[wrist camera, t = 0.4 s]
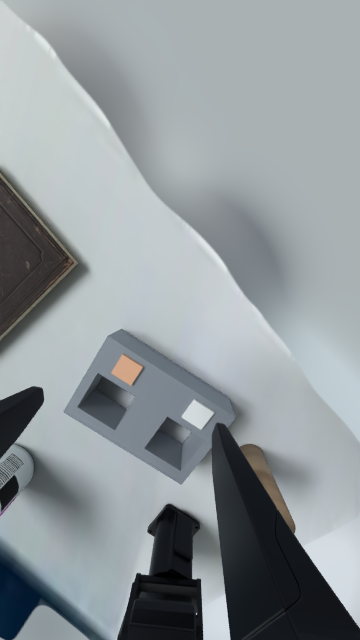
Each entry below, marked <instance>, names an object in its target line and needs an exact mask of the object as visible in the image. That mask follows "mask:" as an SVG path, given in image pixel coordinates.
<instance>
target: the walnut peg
mask: <svg viewBox="0 0 360 640" xmlns="http://www.w3.org/2000/svg"><path fill="white" fill-rule="evenodd" d="M240 449H241V451H242V452H243V454H244V455H245V457H246V459H247V460H248V462H249V463H250V465H251V467H252V468H253V470H254V471H255V473H256V475H257V476H258V478H259V480H260V481H261V483H262V484H263V486H264V488H265V489H266V491H267V492H268V494H269V496H270V497H271V499H272V500H273V502H274V504H275V505H276V507H277V509H278V510H279V511H280V513H281V515H282V516H283V518H284V519H285V521H286V523H287V524H288V526H289V527H290V529H291V530H292V532H293V534H294V533H295V524H294V521H293V519H292V517H291V515H290V512H289V510H288V508H287V506H286V503H285V501H284V499H283V497H282V495H281V492H280V490H279V488H278V486H277V484H276V481H275V479H274V477H273V475H272V472H271V470H270V468H269V466H268V464H267V461H266V459H265V457H264V455H263V452H262V450H261V449H260V448H259V447H258V446H256V445H253V444H246V445H243V446H241V447H240Z"/></svg>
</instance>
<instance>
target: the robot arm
mask: <svg viewBox="0 0 360 640" xmlns="http://www.w3.org/2000/svg"><path fill="white" fill-rule="evenodd" d="M43 402H44V394H43V389H42V388H41V387H36V386H33V387H30V388H28V389H25V390H23V391H21V392H19V393H16V394H14V395H12V396H9V397H7V398H5V399H3V400H0V459H1V458H2V457H3V455H4V454H5V453H6V452H7V451H8V449H9V448H10V447H11V446H12V445H13V443H14V442H15V441H16V440H17V439H18V437H19V436H20V435H21V434H22V432H23V431H24V429H25V428H26V427H27V425H28V424H29V422H30V421H31V420H32V418H33V417H34V416H35V414H36V413H37V411H38V410H39V409H40V407H41V406H42V404H43ZM212 474H213V484H214V493H215V502H216V511H217V520H218V530H219V539H220V548H221V557H222V566H223V575H224V584H225V593H226V602H227V610H228V620H229V628H230V638H231V640H360V628H359V627H358V625H357V624H356V623H355V621H354V620H353V618H352V617H351V616H350V614H349V613H348V611H347V610H346V609H345V607H344V606H343V604H342V603H341V602H340V600H339V599H338V597H337V596H336V594H335V593H334V592H333V590H332V589H331V587H330V586H329V584H328V583H327V582H326V580H325V579H324V577H323V576H322V575H321V573H320V572H319V570H318V569H317V567H316V566H315V565H314V563H313V562H312V560H311V559H310V557H309V556H308V554H307V553H306V552H305V550H304V549H303V547H302V546H301V544H300V543H299V541H298V540H297V538H296V537H295V535H294V534H293V532H292V530H291V529H290V527H289V526H288V524H287V523H286V521H285V519H284V518H283V516H282V515H281V513H280V511H279V510H278V509H277V507H276V505H275V504H274V502H273V500H272V499H271V497H270V496H269V494H268V492H267V491H266V489H265V488H264V486H263V484H262V483H261V481H260V480H259V478H258V476H257V475H256V473H255V471H254V470H253V468H252V467H251V465H250V463H249V462H248V460H247V459H246V457H245V455H244V454H243V452H242V451H241V449H240V447H239V446H238V444H237V443H236V441H235V439H234V438H233V436H232V435H231V433H230V431H229V430H228V428H227V427H226V425H225V424H224V423H219V422H217V423H216V424H215V427H214V430H213V432H212ZM199 529H200V524H199V522H197V521H195V520H194V519H192V518H191V517H189V516H187V515H186V514H184V513H182V512H181V511H179V510H177V509H176V508H174V507H172V506H171V505H166V506H165V507H164V508H163V510H162V511H161V512H160V513H159V514H158V516H157V517H156V518H155V519H154V521H153V522H152V523H151V524H150V525H149V527H148V533H149V534H151V535H152V536H154V537H155V538H154V544H153V551H152V558H151V564H150V571H149V575H141V573H137V574H136V578H135V582H133V583H132V588H131V593H130V598H129V602H128V606H127V610H126V613H125V616H124V619H123V622H122V625H121V628H120V631H119V634H118V638H117V640H203V620H202V596H201V579H197V580H195V579H192V559H193V536H194V535H195V533H196V532H197V531H198V530H199ZM196 613H197V615H196Z"/></svg>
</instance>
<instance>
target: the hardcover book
mask: <svg viewBox="0 0 360 640" xmlns="http://www.w3.org/2000/svg"><path fill="white" fill-rule="evenodd" d="M77 264H78V262H77V261H76V260H75V259H74V258H73V256H72V255H71V254H70V253H69V252H68V251H67V250H66V248H65V247H64V246H63V245H62V244H61V243H60V241H59V240H58V239H57V238H56V237H55V236H54V234H53V233H52V232H51V231H50V230H49V229H48V228H47V226H46V225H45V224H44V223H43V222H42V221H41V219H40V218H39V217H38V216H37V215H36V214H35V212H34V211H33V210H32V209H31V208H30V207H29V206H28V204H27V203H26V202H25V201H24V200H23V199H22V197H21V196H20V195H19V194H18V193H17V192H16V190H15V189H14V188H13V187H12V186H11V185H10V184H9V182H8V181H7V180H6V179H5V178H4V177H3V175H2V174H1V173H0V340H1V339H2V338H3V337H4V336H5V335H6V334H7V333H8V332H9V331H10V330H11V329H12V328H13V327H15V326H16V325H17V324H18V323H19V322H20V321H21V320H22V319H23V318H24V317H25V316H26V315H27V314H28V313H29V312H30V311H31V310H32V309H33V308H34V307H35V306H36V305H37V304H38V303H39V302H40V301H41V300H42V299H43V298H44V297H45V296H46V295H47V294H48V293H49V292H50V291H51V290H52V289H53V288H54V287H55V286H56V285H57V284H58V283H59V282H60V281H61V280H62V279H63V278H64V277H65V276H66V275H67V274H68V273H69V272H70V271H71V270H72V269H73V268H74V267H75V266H76V265H77Z"/></svg>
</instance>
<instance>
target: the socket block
mask: <svg viewBox="0 0 360 640" xmlns="http://www.w3.org/2000/svg"><path fill="white" fill-rule="evenodd" d="M103 376H104V377H105V378H107V379H108V380H110V381H112V382H113V383H115V384H116V385H118V386H120V387H121V388H123V389H124V390H126V391H127V392H129V393H131V394H132V395H134V396H135V397H134V399H133V400H132V402H131V403H130V405H129V406H128V408H127V409H125V408H124V407H122V406H120V405H119V404H117V403H116V402H114V401H112V400H111V399H109V398H108V397H106V396H104V395H103V394H101V393H100V392H98V391H96V390H95V388H96V387H97V385H98V383H99V382H100V380H101V379H102V377H103ZM64 413H66V414H67V415H69V416H70V417H72V418H74V419H75V420H77V421H79V422H80V423H82V424H83V425H85V426H87V427H88V428H90V429H92V430H93V431H95V432H96V433H98V434H100V435H101V436H103V437H105V438H106V439H108V440H110V441H111V442H113V443H114V444H116V445H118V446H119V447H121V448H123V449H124V450H126V451H127V452H129V453H131V454H132V455H134V456H136V457H137V458H139V459H140V460H142V461H144V462H145V463H147V464H149V465H150V466H152V467H153V468H155V469H157V470H158V471H160V472H162V473H163V474H165V475H166V476H168V477H170V478H171V479H173V480H175V481H176V482H178V483H179V484H182V483H183V482H184V481H185V480H186V478H187V477H188V476H189V475H190V473H191V472H192V471H193V470H194V469H195V467H196V466H197V465H198V464H199V462H200V461H201V460H202V459H203V458H204V456H205V455H206V454H207V453H208V451H209V450H210V449H211V448H212V432H213V430H214V427H215V424H216V423H217V422H219V423H224V424H225V425H226V427H227V428H228V427H229V426H230V424H231V423H232V422H233V421H234V420H235V418H236V416H235V414H234V411H233V408H232V405H231V403H230V400H229V397H227V396H225V395H224V394H222V393H221V392H219V391H218V390H216V389H215V388H213V387H211V386H210V385H208V384H207V383H205V382H204V381H202V380H201V379H199V378H197V377H196V376H194V375H193V374H191V373H190V372H188V371H186V370H185V369H183V368H182V367H180V366H179V365H177V364H176V363H174V362H172V361H171V360H169V359H168V358H166V357H165V356H163V355H161V354H160V353H158V352H157V351H155V350H154V349H152V348H151V347H149V346H147V345H146V344H144V343H143V342H141V341H140V340H138V339H136V338H135V337H133V336H132V335H130V334H129V333H127V332H126V331H124V330H122V329H120V330H118V331H116V332H115V333H113V334H111V335H109V336H107V338H106V340H105V342H104V343H103V345H102V347H101V348H100V350H99V352H98V353H97V355H96V357H95V359H94V360H93V362H92V364H91V365H90V367H89V369H88V371H87V372H86V374H85V376H84V377H83V379H82V381H81V383H80V384H79V386H78V388H77V389H76V391H75V393H74V394H73V396H72V398H71V400H70V401H69V403H68V405H67V406H66V408H65V410H64ZM167 417H169V418H170V419H172V420H174V421H175V422H177V423H178V424H180V425H182V426H183V427H185V428H186V429H188V430H190V431H191V433H190V435H189V436H188V437H187V439H186V440H185V441H184V443H183V444H181V443H180V442H178V441H176V440H175V439H173V438H172V437H170V436H168V435H167V434H165V433H164V432H162V431H160V430H159V427H160V426H161V424H162V423H163V422H164V420H165V419H166V418H167Z"/></svg>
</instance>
